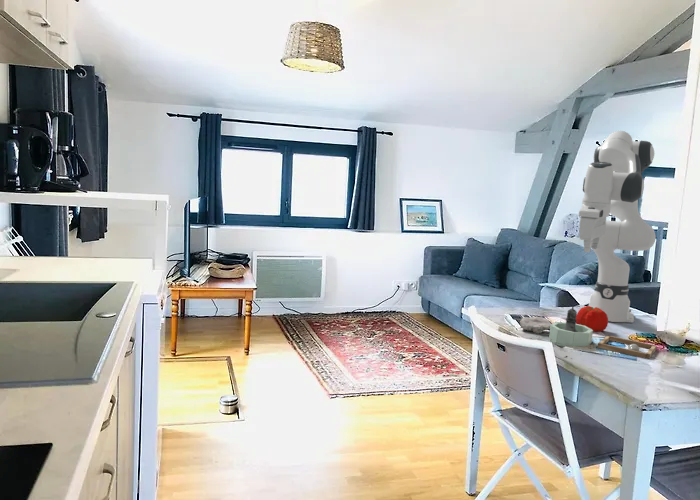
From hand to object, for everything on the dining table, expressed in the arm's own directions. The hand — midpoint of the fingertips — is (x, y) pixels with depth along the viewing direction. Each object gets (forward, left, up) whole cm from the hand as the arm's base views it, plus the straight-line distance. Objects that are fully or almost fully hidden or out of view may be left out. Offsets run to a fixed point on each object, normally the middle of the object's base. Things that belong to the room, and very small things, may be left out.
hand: (590, 250), depth 193 cm
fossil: (+6, -14, -31) cm, 34 cm away
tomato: (-10, +1, -31) cm, 32 cm away
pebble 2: (+11, +21, -29) cm, 37 cm away
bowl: (+12, 0, -31) cm, 33 cm away
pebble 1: (+8, +20, -29) cm, 36 cm away
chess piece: (+14, 0, -30) cm, 33 cm away
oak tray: (+7, +16, -31) cm, 35 cm away
